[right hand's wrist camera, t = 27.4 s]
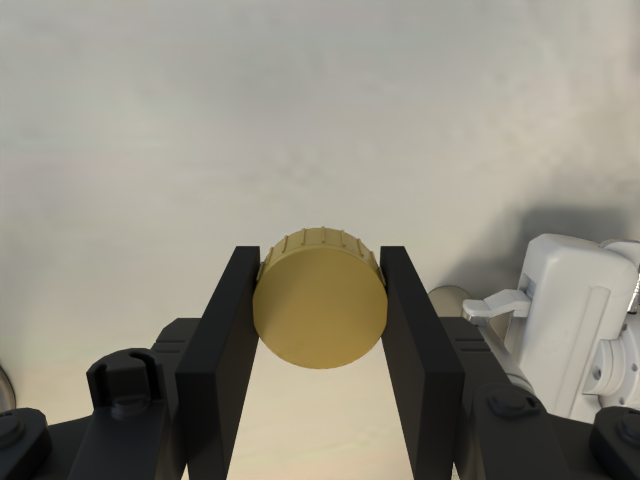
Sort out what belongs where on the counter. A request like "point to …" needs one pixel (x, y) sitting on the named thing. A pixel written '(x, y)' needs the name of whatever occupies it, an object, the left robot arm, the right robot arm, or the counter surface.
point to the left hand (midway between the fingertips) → (456, 347)
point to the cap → (320, 299)
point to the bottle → (450, 305)
